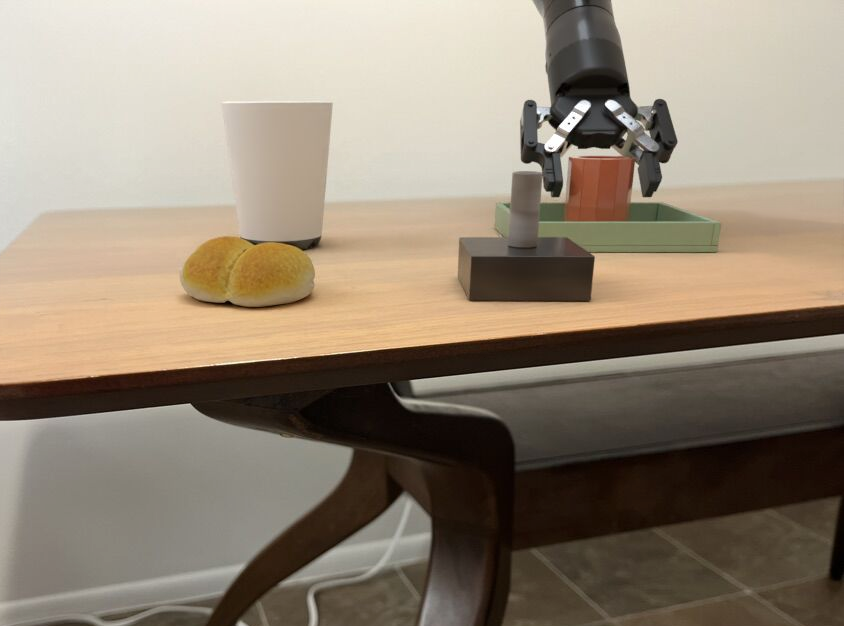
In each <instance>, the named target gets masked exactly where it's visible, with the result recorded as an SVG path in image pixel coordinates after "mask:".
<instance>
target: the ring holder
mask: <svg viewBox="0 0 844 626" xmlns="http://www.w3.org/2000/svg"><path fill="white" fill-rule="evenodd" d="M542 175H543V174H542V171H537V170H536V171H532V170H520V171H519V170H518V171H513V172H512V174H511V189H510V190H511V191H510V193H511V194H510V202H509V203H510V219H509V235H508V237H504V236H501V237H500V236H497V237H496V236H493V237H492V236H490V237H489V236H461V237H460V236H459V238H458V259H457V278H458V280H459V282H460V284H461V286H462V288H463V291H464V293H465V295H466V296H467V298H468V301H470V302H471V301H472V302H473V301H476V302H477V301H479V302H481V301H482V302H485V301H489V302H491V301H492V302H493V301H494V302H497V301H499V302H501V301H504V302H590V301H591V299H592V291H593V281H594V280H593V279H594V270H595V261H596V256H595V255H593V254H592V253H591V252H587V251H586V250H585V249H583V248H582V247H580V246H579V245H577V244H576V243H574V242H573V241H572V240H570V239H569V238H567V237H538V228H539V215H540V203H542V202H541V201H542V188H543V187H542V186H543V177H542Z"/></svg>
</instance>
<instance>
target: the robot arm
mask: <svg viewBox="0 0 844 626" xmlns="http://www.w3.org/2000/svg"><path fill="white" fill-rule="evenodd" d="M531 1H532V3H533V5H534V6H535V8H536V10H537V12H538V14H539V15H540V17H541V18H542V22H543V29H544V37H545V54H544V55H545V65H544V67H545V74H546V75H547V84H548V90H549V99H550V106H538V105H537V102H536V101H535V100H533V99H527V100H525V101H524V102H523V106H522V111H521V117H520V120H519V144H520V147H519V149H520V161H521V162H522V163H523V164H525V165H528V164H531V163H536V164H538V165H539V166H540V168H541V172H542V174H543V175H542V186H543V189H544V191H545V192H546V193H550V198H560V197H561V193H562V191H563V188H564V176H563V175H564V174H563V168H562V161H561V158H562V157H564V155H565V154H566V153H567V152H568V151H569V150H570V148H571V147H572V146H574V147H576V148H577V150H588V149H593V148H596V149H601V150H610V149H611V148H612V149H614V151H616V152H617V153H618V154H619V155H620V156H629V157H634V158H635V164H637V165H638V167H637V174H638V180H639V185H640V191H641V197H642V198H652V197H653V195H654V193H656V192H657V191H658V189H659V187H660V184H661V182H662V180H663V174H662V170H661V164H667V163H668V162H670V159H671V157H672V154H673V152H674V150H675V149H676V147H677V145H678V142H679V141H678V138H677V134H676V131H675V127H674V123H673V121H672V116H671V114H670V109H669V106H668V103H667V101H666V100H664V99H663V98H657V99H655V100H654V101H653V103H652V105H640V106H638V105H637V104H636V103H635V102H634V101H633V99H632V97H631V90H630V89H631V87H630V83H629V78H628V76H629V75H628V71H627V66H626V60H625V55H624V50H623V44H622V40H621V34H620V32H619V29H618V27H617V24H616V21H615V16H614V10H613V3H612V0H531ZM545 122H547V123H548V125H550V126H551V127H552V129H554V130H555V132H554V133H553V135H552V136H551V137H550V138H549V139H548V140H547V142H546V143H542V142H539V139H538V130H539V129H541V128H542V127H543V123H545ZM645 131H646V132H649V135H648V134H647V133H646V132H645ZM626 134H627V136H626V139H624V138H623V137H624V136H625V135H626Z"/></svg>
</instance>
